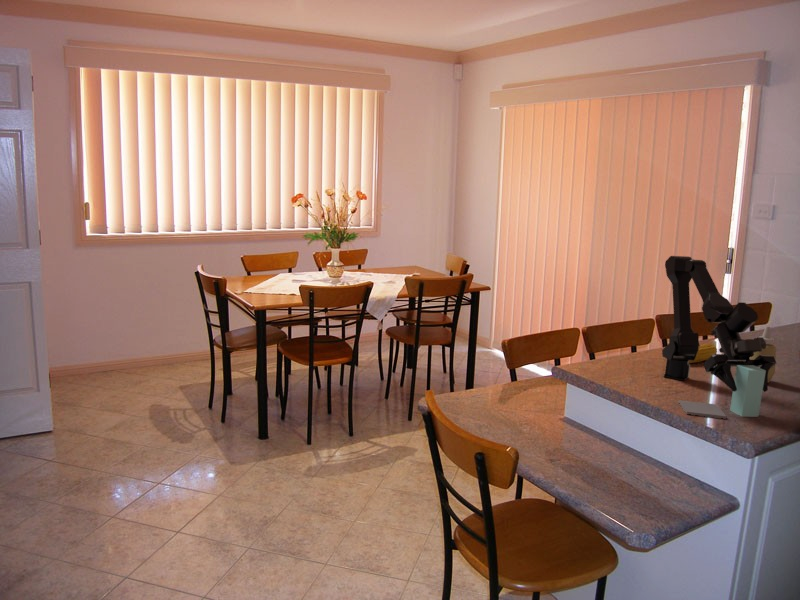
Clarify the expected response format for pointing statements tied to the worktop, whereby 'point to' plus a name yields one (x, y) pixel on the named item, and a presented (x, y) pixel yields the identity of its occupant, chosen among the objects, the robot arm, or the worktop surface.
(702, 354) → the food
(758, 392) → the teal block
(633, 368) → the worktop surface
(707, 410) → the rubber mat
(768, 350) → the squeeze bottle
